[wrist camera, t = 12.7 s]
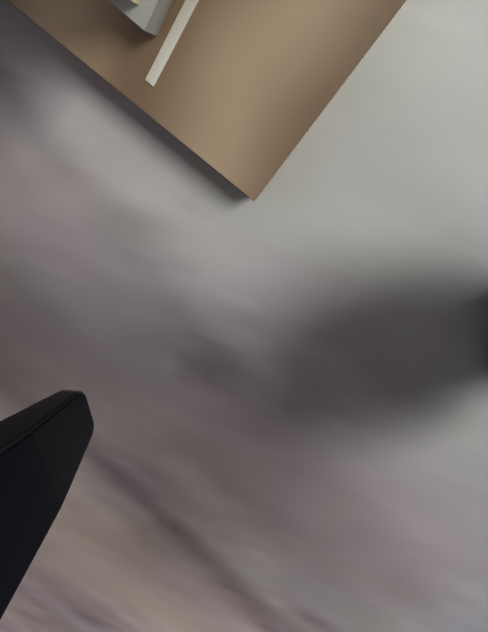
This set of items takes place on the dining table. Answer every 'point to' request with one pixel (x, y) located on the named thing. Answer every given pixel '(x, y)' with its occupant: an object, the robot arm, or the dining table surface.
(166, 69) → the walnut board
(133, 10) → the tall beige pillar block
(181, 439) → the dining table surface
